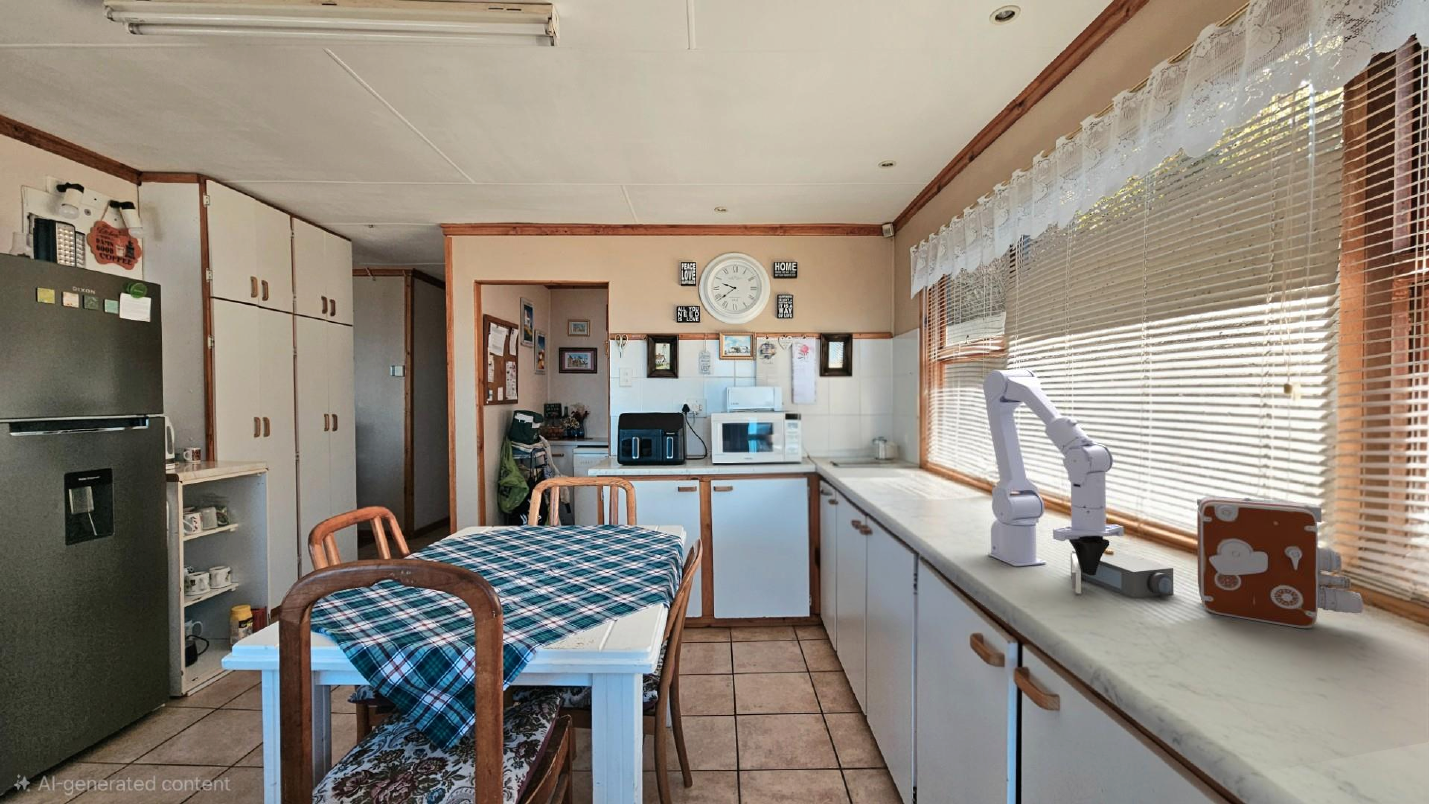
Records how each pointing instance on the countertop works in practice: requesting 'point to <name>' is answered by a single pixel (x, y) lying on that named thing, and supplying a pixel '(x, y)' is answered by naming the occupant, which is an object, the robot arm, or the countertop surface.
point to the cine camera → (1267, 562)
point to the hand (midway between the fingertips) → (1088, 573)
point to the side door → (1075, 573)
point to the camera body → (1131, 575)
